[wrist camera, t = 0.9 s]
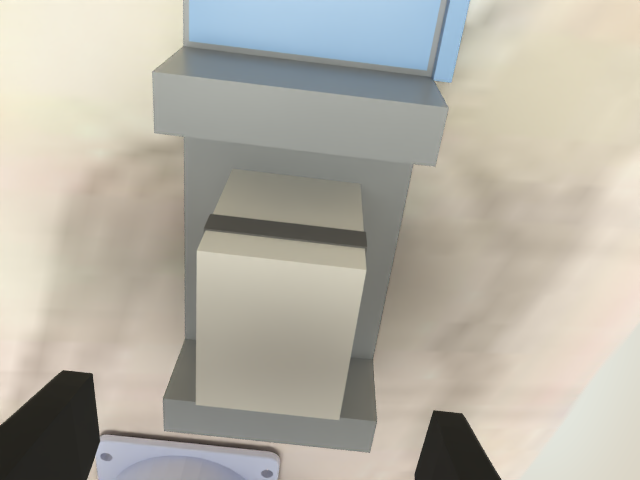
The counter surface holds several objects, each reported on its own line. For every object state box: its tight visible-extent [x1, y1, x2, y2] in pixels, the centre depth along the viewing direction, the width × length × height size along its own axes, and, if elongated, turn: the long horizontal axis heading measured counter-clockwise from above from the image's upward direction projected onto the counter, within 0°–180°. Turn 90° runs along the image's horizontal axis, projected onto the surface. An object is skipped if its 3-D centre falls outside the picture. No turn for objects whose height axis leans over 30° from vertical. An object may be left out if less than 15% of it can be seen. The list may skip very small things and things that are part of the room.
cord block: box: [196, 169, 367, 420], centre depth 17 cm, size 5×4×5 cm
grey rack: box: [152, 0, 470, 453], centre depth 15 cm, size 22×8×4 cm, turn 174°
